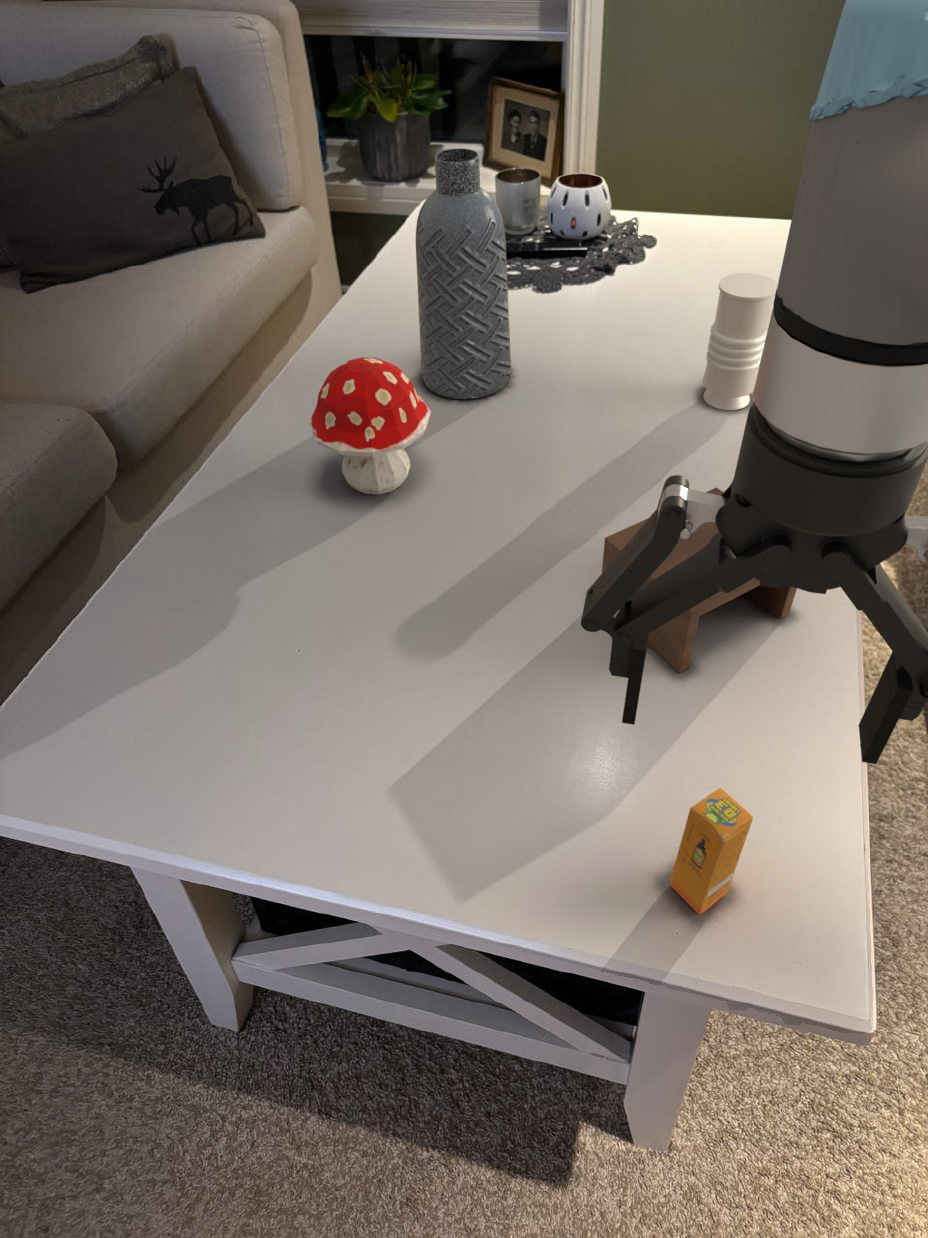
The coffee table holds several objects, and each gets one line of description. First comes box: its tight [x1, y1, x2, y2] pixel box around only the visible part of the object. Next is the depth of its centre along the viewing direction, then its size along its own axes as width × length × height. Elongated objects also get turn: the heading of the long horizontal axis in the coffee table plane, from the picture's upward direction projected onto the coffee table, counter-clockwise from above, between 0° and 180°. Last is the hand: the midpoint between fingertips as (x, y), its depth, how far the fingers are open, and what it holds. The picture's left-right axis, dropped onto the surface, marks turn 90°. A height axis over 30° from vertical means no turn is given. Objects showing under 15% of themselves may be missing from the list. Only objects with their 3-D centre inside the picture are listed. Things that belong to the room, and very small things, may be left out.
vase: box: [415, 147, 512, 400], centre depth 110 cm, size 12×12×28 cm
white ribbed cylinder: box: [702, 272, 778, 411], centre depth 108 cm, size 7×7×15 cm
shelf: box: [601, 486, 798, 674], centre depth 84 cm, size 12×14×8 cm
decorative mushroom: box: [307, 356, 432, 495], centre depth 99 cm, size 14×14×15 cm
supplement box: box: [669, 787, 754, 915], centre depth 62 cm, size 3×3×10 cm
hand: (745, 725), depth 52 cm, fingers open, 13 cm apart
